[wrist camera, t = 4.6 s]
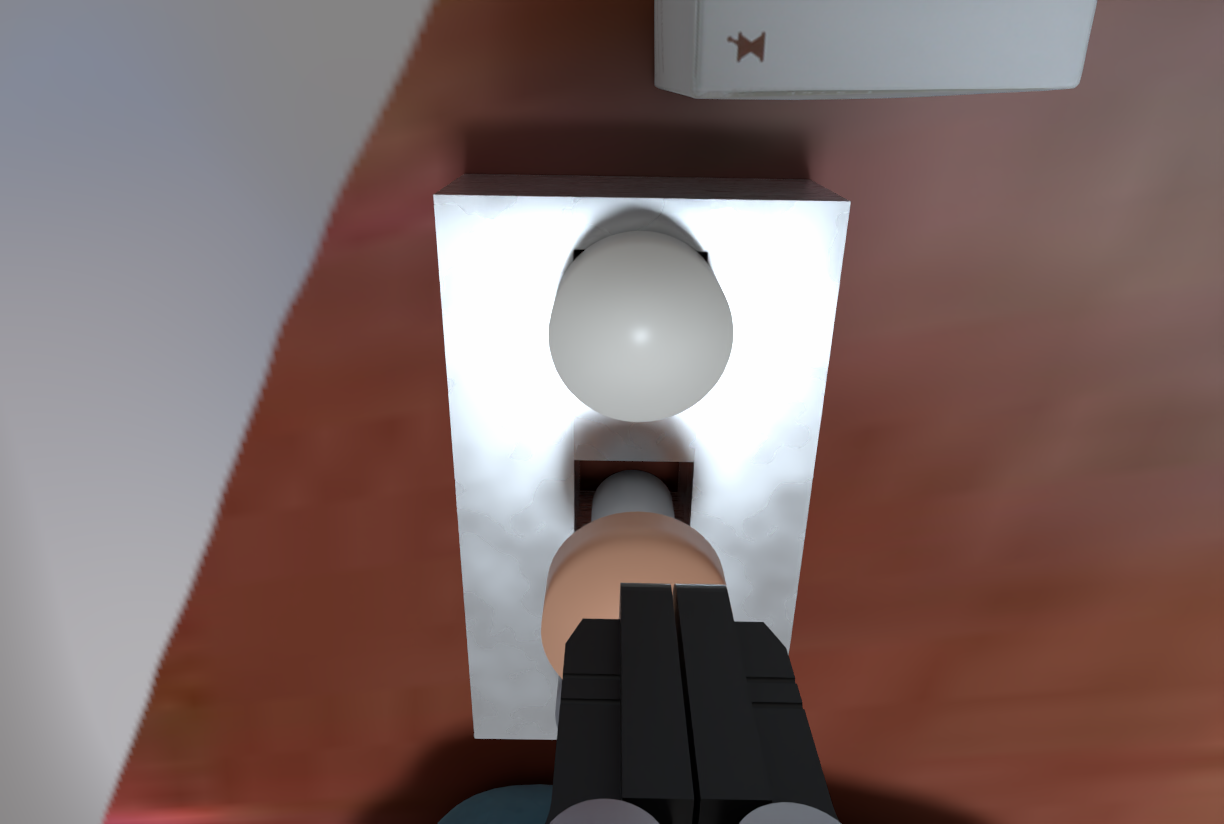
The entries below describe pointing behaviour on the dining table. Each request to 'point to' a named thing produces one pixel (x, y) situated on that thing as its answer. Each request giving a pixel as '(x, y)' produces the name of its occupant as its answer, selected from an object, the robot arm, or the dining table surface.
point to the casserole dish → (504, 806)
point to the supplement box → (868, 47)
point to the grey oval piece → (640, 327)
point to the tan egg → (621, 557)
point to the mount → (570, 431)
